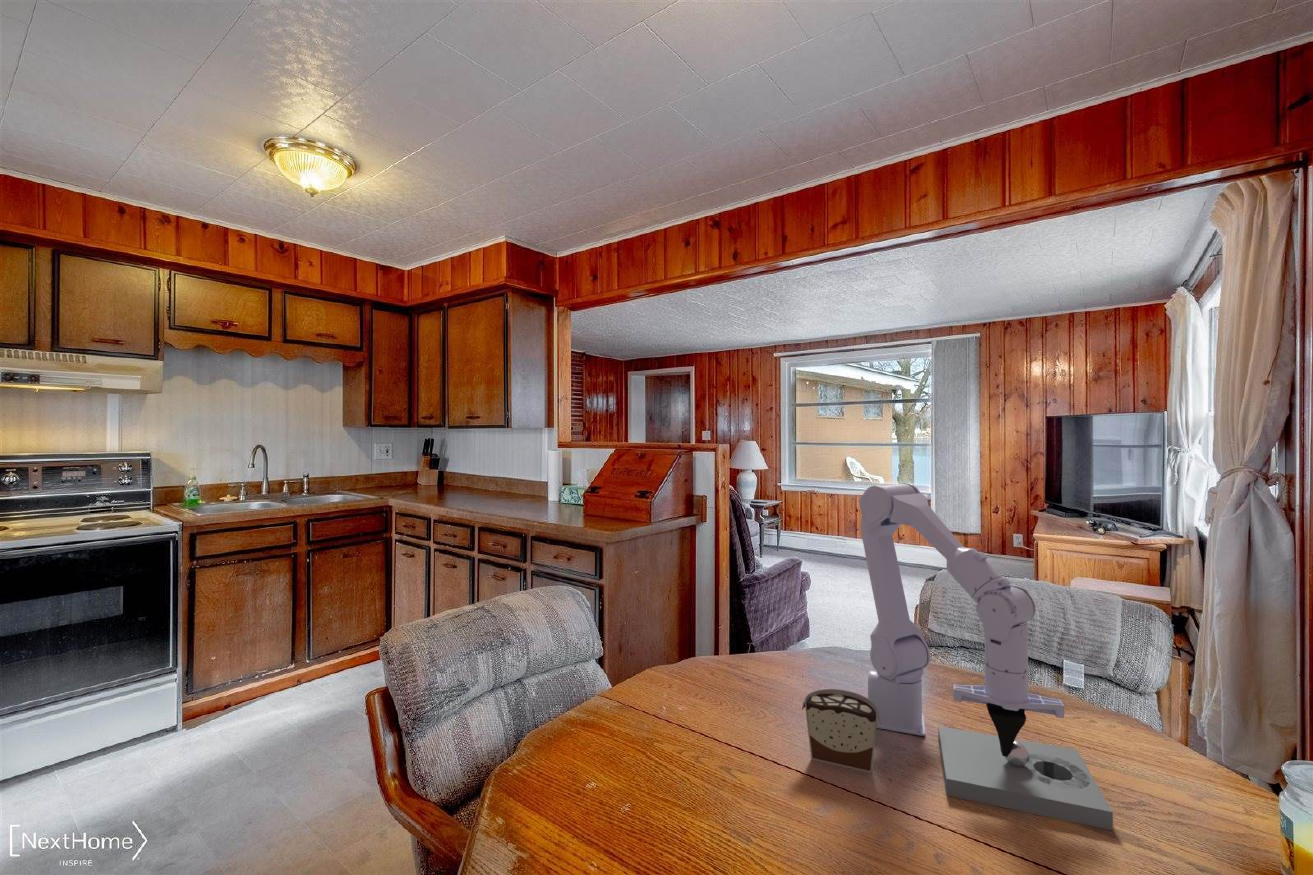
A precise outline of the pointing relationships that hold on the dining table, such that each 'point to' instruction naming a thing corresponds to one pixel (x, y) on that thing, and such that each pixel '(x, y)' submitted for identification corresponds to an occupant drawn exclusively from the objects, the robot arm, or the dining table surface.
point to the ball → (1018, 755)
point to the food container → (841, 728)
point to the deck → (1022, 778)
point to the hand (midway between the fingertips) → (1006, 753)
